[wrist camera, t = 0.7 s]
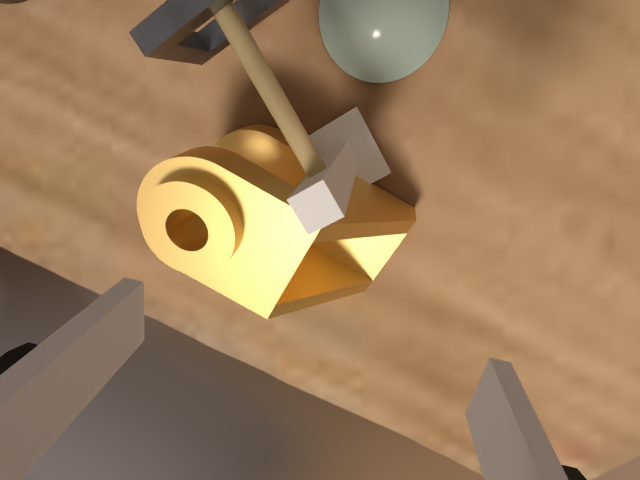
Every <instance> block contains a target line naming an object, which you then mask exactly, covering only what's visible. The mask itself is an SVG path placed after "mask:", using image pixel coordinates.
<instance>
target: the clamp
mask: <svg viewBox="0 0 640 480" xmlns="http://www.w3.org/2000/svg"><path fill="white" fill-rule="evenodd" d="M321 158H322V156H321ZM306 176H307V174H306V172H305V171H304V169H303V167H302V166H301V164H300V162H299V160H298V159H297V157H296V155H295V154H294V152H293V150H292V149H291V147H290V145H289V143H288V142H287V140H286V138H285V137H284V135H283V133H282V131H281V130H279V129H277V128H275V127H272V126H269V125H263V124H254V125H249V126H245V127H243V128H240V129H238V130H236V131H233V132H231V133H229V134H227V135H225V136H223V137H222V138H221V139H220V140H219V141H218V142H217V143H216V144H215V145H214V146H213V147H212V146H205V147H198V148H194V149H191V150H189V151H186V152H184V153H181V154H179V155H177V156H174V157H172V158H170V159H167V160H165V161H163V162H161V163H159V164H157V165H156V166H155V167H153V168H152V169H151V170H150V171H149V172H148V173H147V175H146V176H145V178H144V179H143V181H142V183H141V185H140V188H139V191H138V196H137V214H138V219H139V223H140V226H141V230H142V233H143V236H144V238H145V240H146V242H147V244H148V245H149V247H150V248H151V250H152V251H153V252H154V254H155V255H156V256H157V257H158V258H159V259H160V260H162V261H163V262H164V263H165V264H167V265H168V266H170V267H172V268H173V269H175V270H178V271H180V272H183V273H185V274H186V275H188V276H190V277H192V278H194V279H195V280H197V281H199V282H201V283H203V284H205V285H206V286H208V287H210V288H212V289H214V290H215V291H217V292H219V293H221V294H223V295H224V296H226V297H228V298H230V299H232V300H234V301H235V302H237V303H239V304H241V305H243V306H244V307H246V308H248V309H250V310H252V311H254V312H255V313H257V314H259V315H261V316H263V317H264V318H266V319H269V318H273V317H276V316H280V315H283V314H287V313H290V312H294V311H297V310H301V309H304V308H308V307H311V306H315V305H318V304H321V303H325V302H328V301H332V300H335V299H339V298H342V297H346V296H349V295H353V294H356V293H360V292H363V291H366V289H367V288H368V287H369V285H370V284H371V282H372V281H373V280H374V278H375V277H376V275H377V274H378V273H379V271H380V270H381V269H382V267H383V266H384V264H385V263H386V262H387V260H388V259H389V258H390V256H391V255H392V253H393V252H394V251H395V249H396V248H397V247H398V245H399V244H400V242H401V241H402V240H403V238H404V237H405V235H406V234H407V233H408V231H409V230H410V229H411V227H412V226H413V224H414V223H415V222H416V212H415V208H414V207H412V206H411V205H409V204H407V203H405V202H404V201H402V200H400V199H399V198H397V197H395V196H393V195H392V194H390V193H388V192H386V191H385V190H383V189H381V188H380V187H378V186H376V185H374V184H373V183H371V184H369V183H367V182H365V181H364V180H362V179H360V178H358V177H357V176H355V179H354V183H353V187H352V190H351V194H350V198H349V202H348V205H347V209H346V213H345V217H343V218H341V219H339V220H337V221H335V222H333V223H331V224H329V225H327V226H325V227H324V228H322V229H320V230H318V231H316V232H314V233H312V234H310V235H308V234H307V233H306V231H305V229H304V228H303V226H302V224H301V223H300V221H299V220H298V218H297V216H296V215H295V213H294V211H293V210H292V208H291V206H290V205H289V203H288V202H287V199H288V197H289V196H290V195H291V194H292V193H293V191H294V190H295V189H296V188H297V187H298V186H299V184H300V183H301V182H302V181H303V180H304V178H305V177H306Z"/></svg>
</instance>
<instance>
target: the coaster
mask: <svg viewBox="0 0 640 480" xmlns="http://www.w3.org/2000/svg"><path fill="white" fill-rule="evenodd" d="M448 15H449V0H320V4H319V26H320V32H321V36H322V39H323V42H324V45H325V47H326V49H327V51H328V53H329V54H330V56H331V58H332V59H333V60H334V61H335V63H336V64H337V65H338V66H339V67H340V68H341V69H342V70H344V71H345V72H346V73H348V74H349V75H351V76H353V77H355V78H357V79H360V80H362V81H366V82H371V83H386V82H391V81H396V80H398V79H401V78H404V77H406V76H407V75H409V74H411V73H413V72H414V71H416V70H417V69H418V68H420V67H421V66H422V65H423V64H424V63H425V62H426V61H427V60H428V59H429V58H430V56H431V55H432V54H433V52H434V51H435V50H436V48H437V46H438V44H439V43H440V41H441V39H442V36H443V34H444V31H445V28H446V25H447V21H448Z"/></svg>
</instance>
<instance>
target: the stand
mask: <svg viewBox="0 0 640 480" xmlns="http://www.w3.org/2000/svg"><path fill="white" fill-rule="evenodd" d="M214 17H215V19H216V21H217V22H218V24H219V26H220V27H221V29H222V31H223V33H224V34H225V36H226V38H227V39H228V41H229V43H230V44H231V46H232V48H233V50H234V51H235V53H236V55H237V56H238V58H239V60H240V62H241V63H242V65H243V67H244V68H245V70H246V72H247V73H248V75H249V77H250V79H251V80H252V82H253V84H254V85H255V87H256V89H257V91H258V92H259V94H260V96H261V97H262V99H263V101H264V102H265V104H266V106H267V108H268V109H269V111H270V113H271V114H272V116H273V118H274V120H275V121H276V123H277V125H278V126H279V128H280V130H281V131H282V133H283V135H284V137H285V138H286V140H287V142H288V143H289V145H290V147H291V149H292V150H293V152H294V154H295V155H296V157H297V159H298V160H299V162H300V164H301V166H302V167H303V169H304V171H305V172H306V174H307V176H306V177H305V178H304V180H303V181H302V182H301V183H300V184H299V186H298V187H297V188H296V189H295V190H294V191H293V193H292V194H291V195H290V196H289V197H288V199H287V202H288V203H289V205H290V206H291V208H292V210H293V211H294V213H295V215H296V216H297V218H298V220H299V221H300V223H301V224H302V226H303V228H304V229H305V231H306V233H307V234H308V235H310V234H312V233H314V232H316V231H318V230H320V229H322V228H324V227H325V226H327V225H329V224H331V223H333V222H335V221H337V220H339V219H341V218H343V217H345V213H346V209H347V205H348V202H349V198H350V194H351V190H352V187H353V183H354V179H355V176H357V177H358V178H360V179H362V180H364V181H365V182H367V183H369V184H371V183H373V182H375V181H377V180H379V179H381V178H383V177H385V176H387V175H388V174H390V173H391V171H390V169H389V167H388V165H387V163H386V161H385V159H384V157H383V155H382V154H381V152H380V150H379V148H378V146H377V144H376V142H375V140H374V138H373V136H372V134H371V133H370V131H369V129H368V127H367V125H366V123H365V121H364V119H363V117H362V115H361V113H360V112H359V110H358V108H357V107H355V108H353V109H352V110H350V111H348V112H347V113H345V114H343V115H342V116H340V117H338V118H337V119H335V120H333V121H332V122H330V123H328V124H327V125H325V126H323V127H322V128H320V129H318V130H317V131H315V132H313V133H312V134H310V135H308V134H307V132H306V130H305V128H304V127H303V125H302V123H301V121H300V119H299V118H298V116H297V114H296V112H295V111H294V109H293V107H292V105H291V104H290V102H289V100H288V98H287V97H286V95H285V93H284V91H283V90H282V88H281V86H280V84H279V83H278V81H277V79H276V77H275V76H274V74H273V72H272V70H271V69H270V67H269V65H268V63H267V61H266V60H265V58H264V56H263V54H262V53H261V51H260V49H259V47H258V46H257V44H256V42H255V40H254V39H253V37H252V35H251V33H250V32H249V30H248V28H247V26H246V25H245V23H244V21H243V19H242V18H241V16H240V14H239V12H238V10H237V9H236V7H235V5H234V3H233V2H231V3H229V4H228V5H227V6H225V7H224V8H223V9H222V10H220V11H219V12H218V13H216V14H215V15H214ZM321 156H322V158H321Z"/></svg>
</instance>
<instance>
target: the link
mask: <svg viewBox="0 0 640 480" xmlns="http://www.w3.org/2000/svg"><path fill="white" fill-rule="evenodd" d="M232 1H233V0H167V1H166V2H165V3H164V4H162V5H161V6H160V7H159V8H158V9H156V10H155V11H154V12H153V13H152V14H150V15H149V16H148V17H147V18H146V19H144V20H143V21H142V22H141V23H140V24H138V25H137V26H136V27H135V28H134V29H132V30H131V31H130V32H129V33H130V34H131V36H132V37H133V39H134V40H135V42H136V43H137V45H138V46H139V48H140V50H141V51H142V53H143V54H144V56H145V57H151V58H158V59H165V60H172V61H179V62H186V63H192V64H199V65H203V64H204V63H205V62H207V61H208V60H210V59H211V58H212V57H214V56H215V55H216V54H218V53H219V52H220V51H222V50H223V49H224V48H226V47H227V46H229V45H230V43H229V41H228V39H227V38H226V36H225V34H224V33H223V31H222V29H221V27H220V26H219V24H218V22H217V21H216V19H214V20H213V21H211V22H210V23H209V24H208V25H206V26H205V27H204V28H202V29H201V30H200V31H199V32H194V31H195V30H196V29H197V28H198V27H200V26H201V25H202V24H204V23H205V22H206V21H207V20H209V19H210V18H211V17H213V16H214V15H215V14H216V13H218V12H219V11H220V10H222V9H223V8H224V7H225V6H227V5H228V4H229V3H231V2H232ZM288 1H289V0H239V1H237V2H236V3H235V4H234V5H235V7H236V9H237V10H238V12H239V14H240V16H241V18H242V19H243V21H244V23H245V25H246V26H247V28H248V30H250V29H252V28H253V27H254V26H256V25H257V24H258V23H260V22H261V21H262V20H264V19H265V18H266V17H268V16H269V15H271V14H272V13H273V12H275V11H276V10H277V9H279V8H280V7H281V6H283V5H284V4H285V3H287V2H288Z"/></svg>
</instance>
